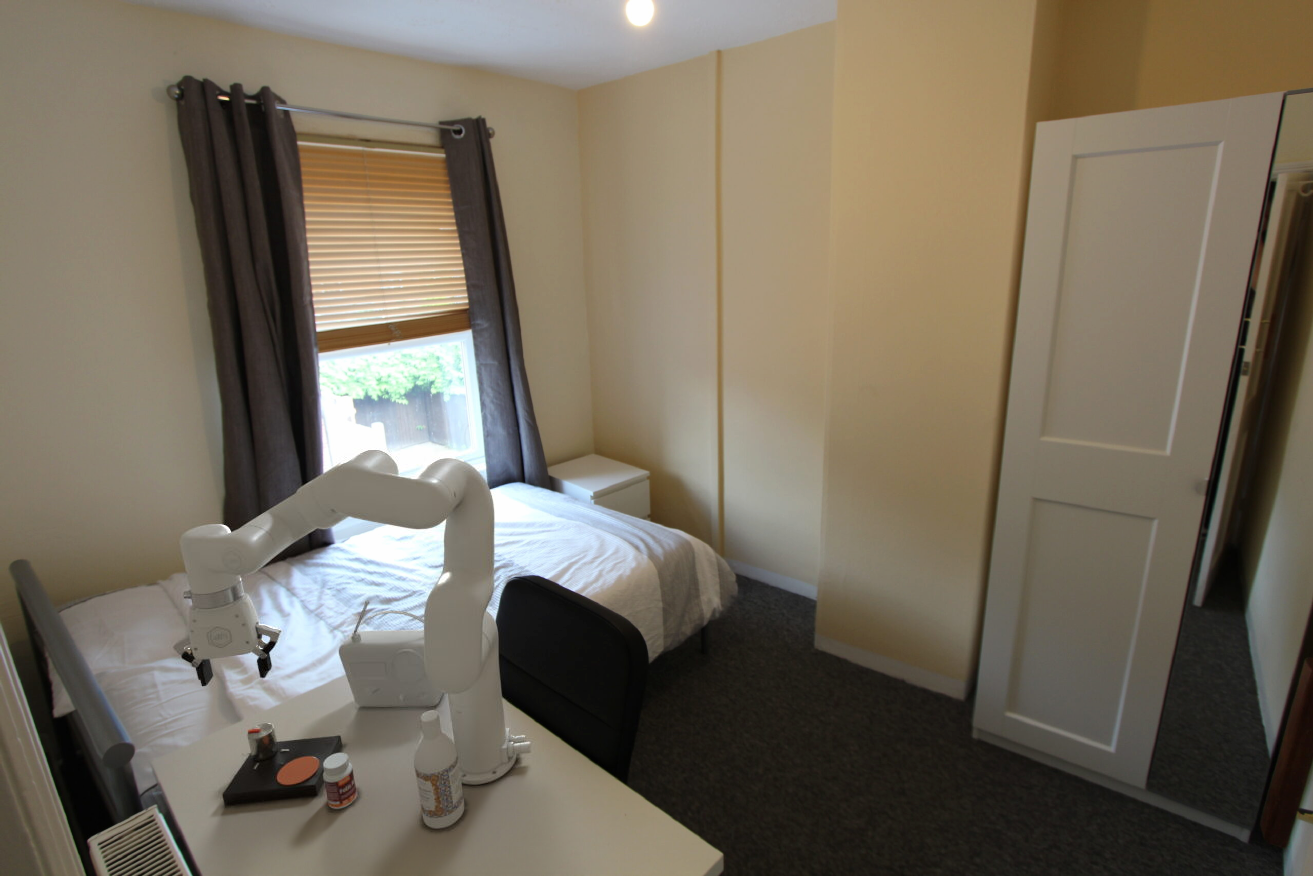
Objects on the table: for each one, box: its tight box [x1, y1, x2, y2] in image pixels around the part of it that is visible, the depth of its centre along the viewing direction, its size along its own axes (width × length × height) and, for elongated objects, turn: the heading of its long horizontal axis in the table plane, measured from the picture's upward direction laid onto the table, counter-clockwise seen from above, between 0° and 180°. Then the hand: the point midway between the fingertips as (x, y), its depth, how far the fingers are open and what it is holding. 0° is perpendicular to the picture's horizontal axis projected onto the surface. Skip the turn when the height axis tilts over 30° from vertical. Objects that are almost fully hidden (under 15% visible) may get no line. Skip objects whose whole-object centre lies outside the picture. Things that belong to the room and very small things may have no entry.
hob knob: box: [246, 722, 278, 761], centre depth 127 cm, size 4×4×5 cm
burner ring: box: [277, 756, 319, 785], centre depth 123 cm, size 7×7×1 cm
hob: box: [221, 735, 343, 807], centre depth 126 cm, size 17×14×3 cm
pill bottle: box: [323, 752, 358, 810], centre depth 118 cm, size 5×5×8 cm
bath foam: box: [413, 709, 465, 830], centre depth 112 cm, size 7×7×20 cm
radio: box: [338, 599, 444, 708], centre depth 142 cm, size 22×8×25 cm, turn 88°
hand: (236, 677), depth 121 cm, fingers open, 9 cm apart
